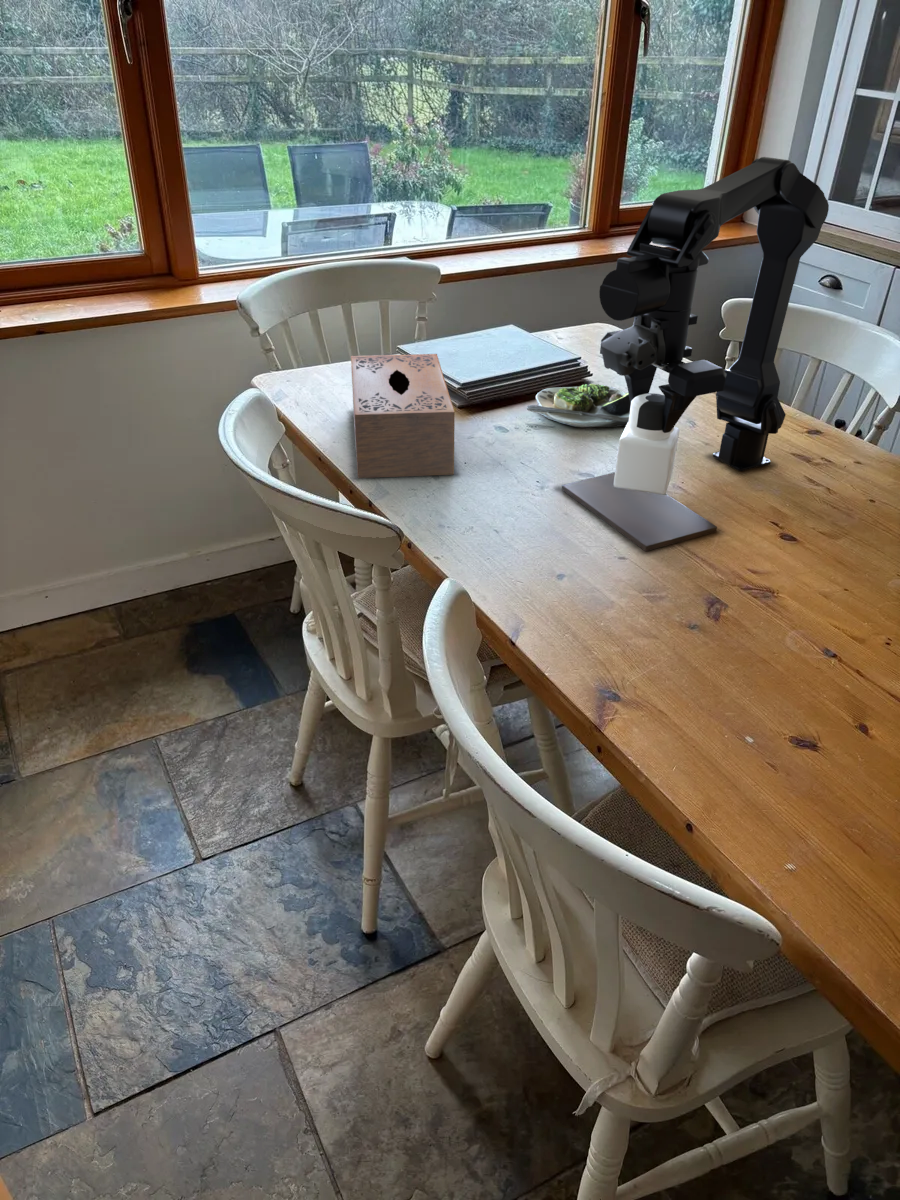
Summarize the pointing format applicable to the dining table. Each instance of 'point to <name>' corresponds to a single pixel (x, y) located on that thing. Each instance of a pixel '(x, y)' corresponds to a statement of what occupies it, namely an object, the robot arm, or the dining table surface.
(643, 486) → the medicine bottle
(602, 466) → the dining table surface
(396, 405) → the tissue box cover
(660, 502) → the walnut mat
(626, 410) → the salad plate
